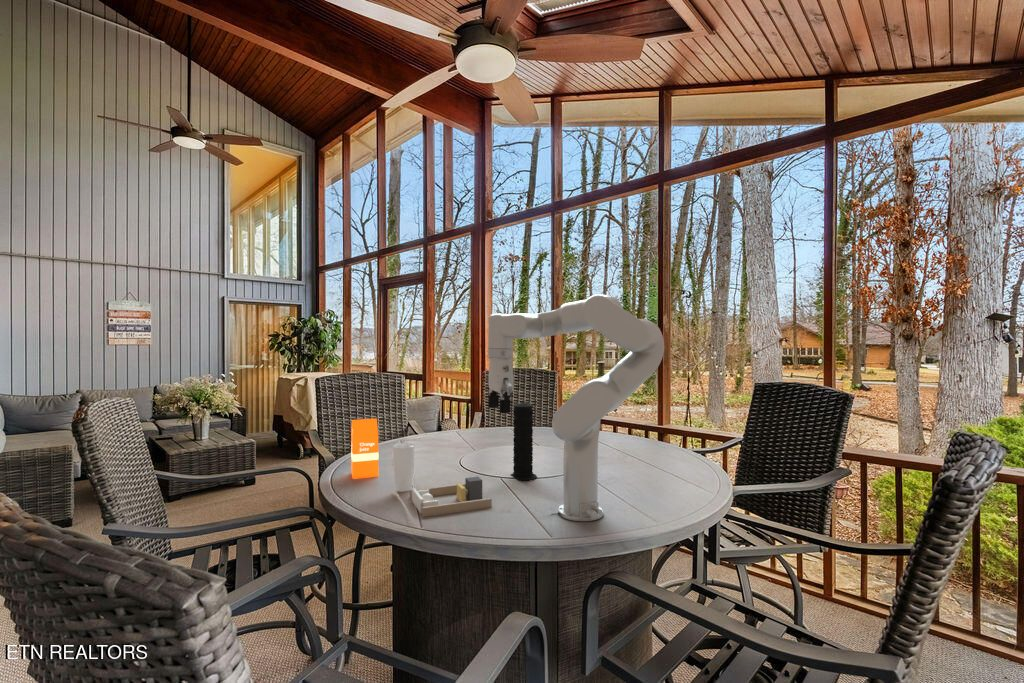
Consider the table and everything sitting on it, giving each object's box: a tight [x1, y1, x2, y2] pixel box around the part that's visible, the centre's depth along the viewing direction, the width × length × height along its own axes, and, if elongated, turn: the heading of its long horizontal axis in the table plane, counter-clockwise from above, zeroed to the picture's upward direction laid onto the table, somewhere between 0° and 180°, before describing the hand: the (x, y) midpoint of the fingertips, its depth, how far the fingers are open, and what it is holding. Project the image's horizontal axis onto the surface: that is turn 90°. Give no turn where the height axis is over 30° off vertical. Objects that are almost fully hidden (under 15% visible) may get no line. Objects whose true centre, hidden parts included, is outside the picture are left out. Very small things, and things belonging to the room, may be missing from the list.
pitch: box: [409, 483, 493, 518], centre depth 149 cm, size 17×20×3 cm
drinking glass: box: [392, 442, 415, 494], centre depth 162 cm, size 7×7×15 cm
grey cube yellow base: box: [456, 476, 483, 502], centre depth 152 cm, size 5×7×6 cm
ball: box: [422, 493, 434, 502], centre depth 147 cm, size 4×4×4 cm
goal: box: [411, 487, 439, 514], centre depth 146 cm, size 11×5×4 cm, turn 23°
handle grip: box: [510, 402, 538, 482], centre depth 178 cm, size 10×26×10 cm
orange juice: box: [350, 418, 380, 480], centre depth 181 cm, size 8×9×20 cm
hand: (499, 410), depth 155 cm, fingers open, 9 cm apart
